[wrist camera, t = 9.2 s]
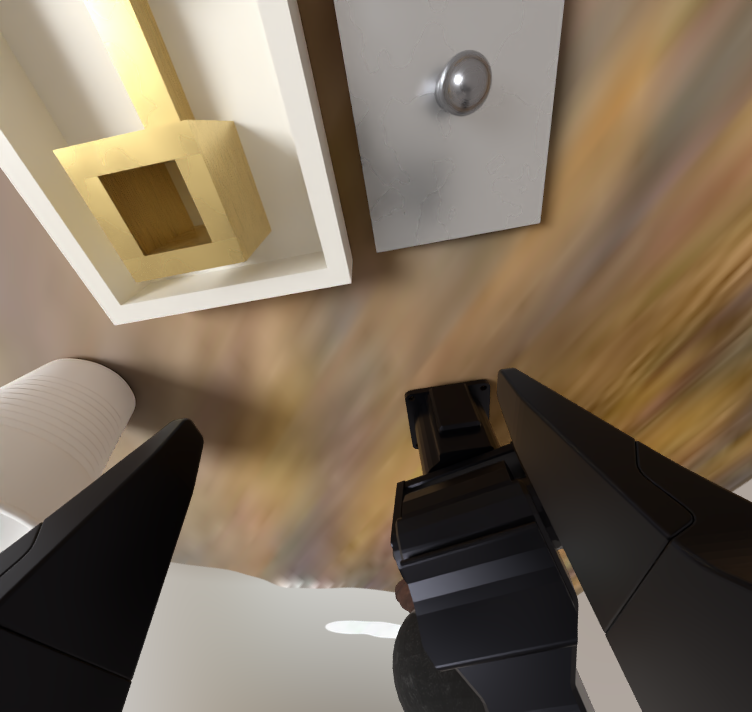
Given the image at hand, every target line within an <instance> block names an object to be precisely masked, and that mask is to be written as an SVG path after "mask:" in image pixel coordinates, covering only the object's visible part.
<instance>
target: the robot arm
mask: <svg viewBox="0 0 752 712" xmlns="http://www.w3.org/2000/svg"><path fill="white" fill-rule="evenodd" d="M481 386H484V387H481ZM411 396H412V397H413V398H409V397H411ZM497 397H498V401H499V404H500V407H501V410H502V413H503V415H504V418H505V421H506V424H507V427H508V430H509V433H510V436H511V439H512V441H511V443H510V444H507V445H505V446H502V447H500V445H499V443H498V441H497V438H496V436H495V434H494V431H493V429H492V427H491V424H490V422H489V404H490V385H489V383H488V381H487V380H477V381H470V382H464V383H457V384H451V385H444V386H438V387H431V388H425V389H418V390H412V391H408V392H406V394H405V401H406V407H407V413H408V419H409V426H410V432H411V438H412V444H413V447H414V448H415V449H419V454H420V460H421V465H422V471H423V475H422V476H419V477H416V478H414V479H411V480H408V481H405V480H404V481H401V482H399V483H397V488H396V496H395V505H394V514H393V522H392V532H391V546H392V548H393V557H394V559H395V560H396V562H397V565H398V568H399V571H400V573H401V575H402V577H403V579H404V580H405V582H406V583H407V584H408V587H409V590H410V593H411V596H412V600H413V603H414V608H415V612H416V616H417V621H418V626H419V631H420V636H421V641H422V645H423V648H424V650H425V651H426V653H427V655H428V656H429V658H430V659H431V661H432V663H433V664H434V666H435V667H436V669H437V670H439V671H446V670H451V669H456V671H457V672H458V673H459V674H460V675H461V677H462V678H463V679H464V680H465V681H466V682H467V684H468V685H469V686H470V687H471V688H472V689H473V691H474V692H475V693H476V694H477V695H478V697H479V698H480V699H481V701H482V703H483V706H484V708H485V711H486V712H595V711H594V708H593V706H592V704H591V701H590V699H589V697H588V694H587V692H586V690H585V687H584V685H583V683H582V680H581V678H580V676H579V673H578V671H577V669H576V654H577V642H578V637H577V636H578V633H577V632H578V631H577V630H578V629H577V627H578V599H577V595H576V592H575V590H574V587H573V584H572V581H571V578H570V575H569V573H568V571H567V569H566V566H565V564H564V562H563V560H562V558H561V556H560V554H559V551H558V550H559V549H562V548H563V549H564V551H565V553H566V555H567V557H568V559H569V561H570V563H571V565H572V567H573V569H574V571H575V573H576V575H577V577H578V580H579V582H580V584H581V586H582V588H583V590H584V592H585V594H586V596H587V598H588V600H589V602H590V604H591V606H592V608H593V610H594V612H595V614H596V617H597V618H598V621H599V623H600V625H601V627H602V629H603V631H604V632H605V633H606V634H605V635H606V637H607V640H608V642H609V644H610V646H611V648H612V650H613V652H614V654H615V656H616V658H617V660H618V662H619V664H620V666H621V669H622V671H623V672H624V675H625V677H626V679H627V681H628V683H629V685H630V687H631V689H632V691H633V693H634V695H635V697H636V700H637V702H638V703H639V706H640V708H641V709H642V712H752V502H750V501H748V500H746V499H744V498H743V497H741V496H739V495H737V494H735V493H733V492H731V491H729V490H727V489H725V488H723V487H721V486H719V485H717V484H715V483H713V482H711V481H709V480H707V479H705V478H704V477H702V476H700V475H698V474H696V473H694V472H692V471H690V470H688V469H686V468H685V467H683V466H681V465H679V464H677V463H675V462H674V461H672V460H670V459H668V458H667V457H665V456H663V455H661V454H660V453H658V452H656V451H654V450H653V449H651V448H649V447H648V446H646V445H644V444H643V443H641V442H639V441H636V442H635V439H634V438H632V437H631V436H629V435H627V434H625V433H624V432H622V431H620V430H619V429H617V428H615V427H614V426H612V425H610V424H609V423H607V422H605V421H604V420H602V419H600V418H598V417H597V416H595V415H593V414H592V413H590V412H588V411H587V410H585V409H583V408H582V407H580V406H578V405H577V404H575V403H573V402H571V401H570V400H568V399H566V398H565V397H563V396H561V395H560V394H558V393H556V392H555V391H553V390H551V389H550V388H548V387H546V386H544V385H543V384H541V383H539V382H538V381H536V380H534V379H533V378H531V377H529V376H528V375H526V374H524V373H523V372H521V371H519V370H517V369H516V368H507V369H501V370H500V371H499V372H498V381H497ZM203 444H204V440H203V436H202V435H201V433H200V432H199V430H198V429H197V428H196V426H195V425H194V423H193V422H192V421H191V420H190V419H188V418H184V419H177V420H174V421H172V422H171V423H169V424H168V425H167V426H165V427H164V428H163V429H162V430H160V431H159V432H158V433H156V434H155V435H154V436H152V437H151V438H150V439H148V440H147V441H146V442H145V443H143V444H142V445H141V446H139V447H138V448H137V449H135V450H134V451H133V452H132V453H130V454H129V455H128V456H126V457H125V458H124V459H122V460H121V461H120V462H119V463H117V464H116V465H115V466H113V467H112V468H111V469H109V470H108V471H107V472H106V473H104V474H103V475H102V476H100V477H99V478H98V479H96V480H95V481H94V482H93V483H91V484H90V485H89V486H87V487H86V488H85V489H83V490H82V491H81V492H80V493H78V494H77V495H76V496H74V497H73V498H72V499H70V500H69V501H68V502H67V503H65V504H64V505H63V506H61V507H60V508H59V509H57V510H56V511H55V512H54V513H52V514H51V515H50V516H48V517H47V518H46V519H45V520H44V521H43V522H41V523H39V524H38V525H37V526H35V527H34V528H33V529H31V530H30V531H29V532H27V533H26V534H25V535H24V536H22V537H21V538H20V539H18V540H17V541H16V542H14V543H13V544H12V545H10V546H9V547H8V548H6V549H5V550H4V551H2V552H1V553H0V712H122V710H123V707H124V704H125V701H126V697H127V694H128V691H129V688H130V685H131V680H132V678H133V675H134V672H135V669H136V666H137V663H138V660H139V657H140V654H141V651H142V648H143V645H144V641H145V639H146V635H147V632H148V629H149V626H150V623H151V620H152V617H153V614H154V611H155V608H156V605H157V602H158V598H159V596H160V593H161V589H162V586H163V583H164V580H165V577H166V574H167V571H168V568H169V565H170V562H171V559H172V556H173V553H174V550H175V547H176V544H177V540H178V537H179V534H180V531H181V528H182V525H183V522H184V519H185V516H186V513H187V510H188V507H189V504H190V501H191V497H192V494H193V490H194V486H195V482H196V477H197V472H198V468H199V463H200V459H201V454H202V449H203Z"/></svg>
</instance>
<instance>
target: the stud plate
mask: <svg viewBox="0 0 752 712" xmlns="http://www.w3.org/2000/svg"><path fill="white" fill-rule="evenodd" d="M334 5H335V11H336V17H337V23H338V29H339V34H340V40H341V46H342V52H343V58H344V64H345V70H346V75H347V81H348V87H349V93H350V99H351V105H352V111H353V116H354V122H355V128H356V134H357V140H358V146H359V151H360V157H361V163H362V169H363V175H364V181H365V187H366V192H367V198H368V204H369V210H370V216H371V222H372V228H373V233H374V239H375V245H376V251H377V253H379V252H384V251H390V250H395V249H401V248H406V247H412V246H417V245H422V244H428V243H433V242H439V241H444V240H450V239H455V238H461V237H466V236H472V235H477V234H483V233H488V232H494V231H499V230H504V229H510V228H515V227H521V226H526V225H532V224H537V223H540V220H541V210H542V201H543V192H544V183H545V174H546V165H547V156H548V147H549V137H550V128H551V119H552V110H553V101H554V92H555V83H556V73H557V64H558V55H559V46H560V37H561V28H562V19H563V9H564V0H334Z"/></svg>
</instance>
